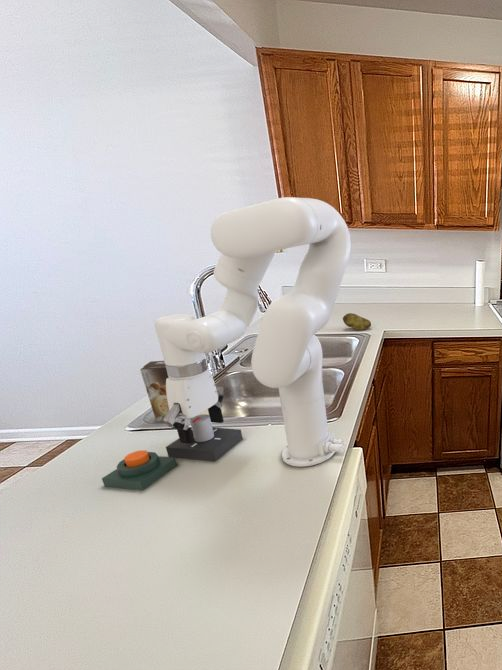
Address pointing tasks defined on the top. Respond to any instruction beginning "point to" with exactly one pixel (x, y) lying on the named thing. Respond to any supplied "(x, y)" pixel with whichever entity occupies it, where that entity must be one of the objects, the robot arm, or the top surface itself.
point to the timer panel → (206, 446)
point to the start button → (136, 458)
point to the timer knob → (202, 428)
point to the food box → (156, 387)
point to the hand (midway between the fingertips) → (203, 431)
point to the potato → (356, 321)
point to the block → (139, 473)
